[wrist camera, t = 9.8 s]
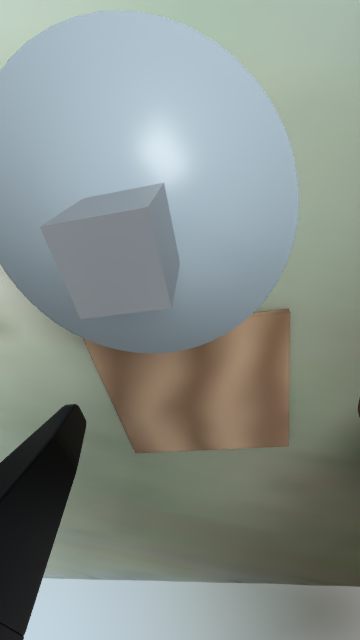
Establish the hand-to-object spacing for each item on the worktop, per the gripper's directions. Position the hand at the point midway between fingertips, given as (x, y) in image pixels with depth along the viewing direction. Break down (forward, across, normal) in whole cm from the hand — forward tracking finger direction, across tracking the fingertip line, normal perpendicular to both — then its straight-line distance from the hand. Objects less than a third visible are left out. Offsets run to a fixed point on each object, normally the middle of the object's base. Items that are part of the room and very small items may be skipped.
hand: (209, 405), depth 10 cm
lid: (+7, +3, -4) cm, 9 cm away
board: (+13, +3, +13) cm, 18 cm away
